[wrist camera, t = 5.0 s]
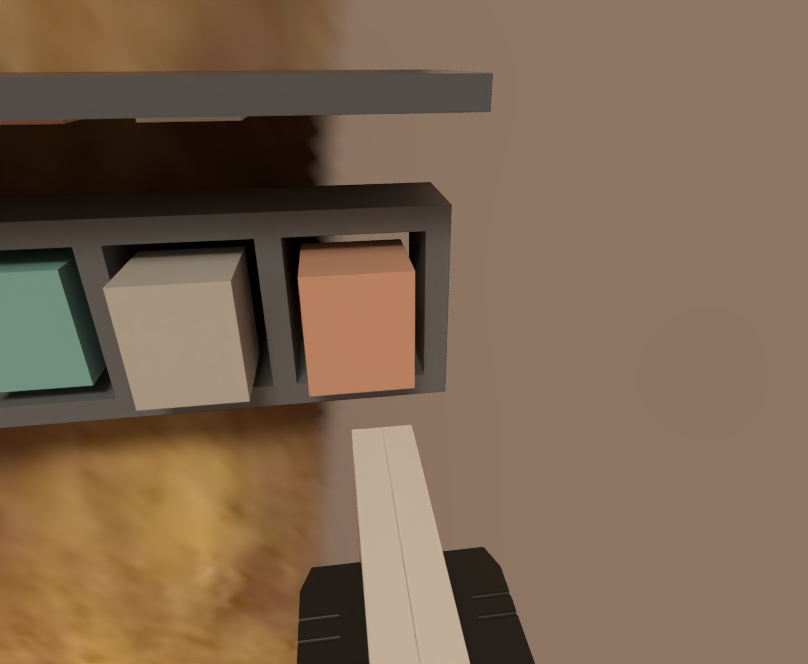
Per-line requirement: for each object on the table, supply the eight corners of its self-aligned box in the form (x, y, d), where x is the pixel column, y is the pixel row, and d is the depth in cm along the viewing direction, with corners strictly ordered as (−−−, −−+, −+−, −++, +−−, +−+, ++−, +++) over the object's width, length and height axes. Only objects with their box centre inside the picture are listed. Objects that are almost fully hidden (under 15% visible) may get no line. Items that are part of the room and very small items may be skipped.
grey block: (163, 359, 24) (136, 410, 20) (137, 251, 22) (102, 287, 18) (259, 352, 25) (249, 401, 21) (244, 246, 22) (230, 281, 19)
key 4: (310, 348, 25) (309, 396, 21) (300, 243, 23) (297, 277, 19) (401, 342, 25) (414, 387, 22) (400, 239, 23) (415, 271, 20)
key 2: (29, 347, 25) (-19, 393, 22) (-8, 243, 23) (-68, 276, 19) (124, 340, 26) (93, 385, 22) (96, 238, 23) (57, 270, 20)
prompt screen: (-289, 112, 20) (-688, 144, 12) (-309, 75, 20) (-741, 83, 12) (431, 101, 23) (489, 121, 16) (432, 69, 23) (492, 73, 15)
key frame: (-142, 386, 26) (-227, 446, 22) (-239, 204, 22) (-365, 237, 18) (427, 346, 29) (445, 391, 25) (430, 182, 25) (451, 205, 21)
